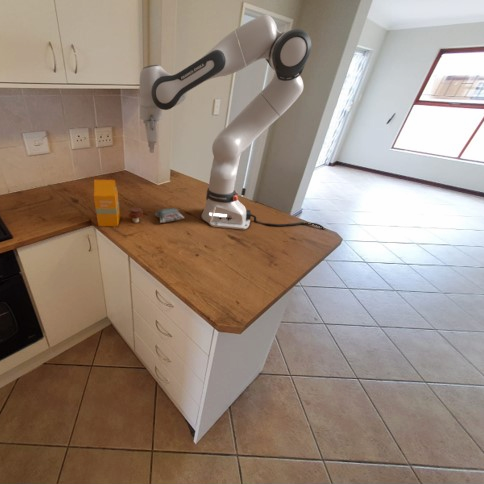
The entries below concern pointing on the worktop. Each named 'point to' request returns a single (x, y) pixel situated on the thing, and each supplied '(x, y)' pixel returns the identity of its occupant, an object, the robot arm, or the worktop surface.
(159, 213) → the packaged food
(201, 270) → the worktop surface
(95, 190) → the orange juice
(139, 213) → the brown stepped knob
